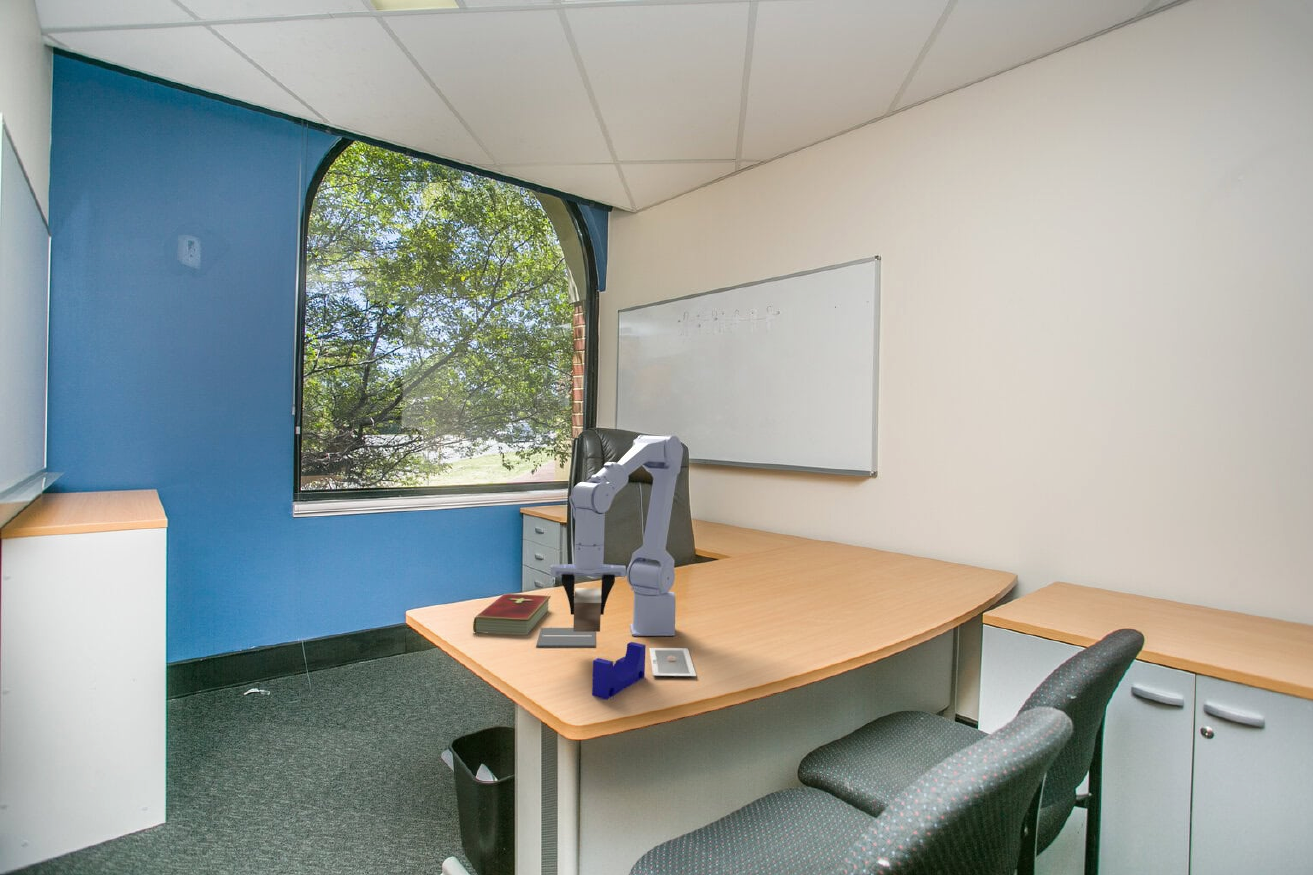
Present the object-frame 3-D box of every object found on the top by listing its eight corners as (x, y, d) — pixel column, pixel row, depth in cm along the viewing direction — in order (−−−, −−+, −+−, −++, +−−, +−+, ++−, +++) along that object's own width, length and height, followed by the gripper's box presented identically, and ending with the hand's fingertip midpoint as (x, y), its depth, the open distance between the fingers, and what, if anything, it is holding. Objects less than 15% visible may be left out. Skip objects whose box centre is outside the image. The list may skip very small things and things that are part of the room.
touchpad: (687, 653, 128) (687, 643, 128) (696, 681, 113) (696, 669, 113) (649, 653, 127) (649, 642, 127) (652, 681, 112) (653, 669, 112)
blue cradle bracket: (623, 672, 115) (624, 640, 115) (644, 677, 113) (645, 644, 113) (584, 694, 105) (585, 658, 105) (606, 700, 103) (607, 664, 103)
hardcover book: (472, 634, 135) (473, 615, 135) (502, 609, 156) (503, 592, 156) (527, 637, 134) (528, 618, 135) (550, 611, 155) (550, 594, 155)
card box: (599, 617, 127) (600, 587, 127) (600, 631, 118) (601, 599, 118) (574, 617, 126) (575, 587, 126) (572, 631, 117) (574, 599, 117)
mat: (595, 629, 140) (595, 627, 140) (595, 647, 128) (595, 644, 128) (540, 629, 139) (540, 627, 139) (536, 647, 127) (536, 644, 127)
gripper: (550, 546, 118) (548, 618, 118) (627, 547, 119) (625, 619, 119) (552, 540, 125) (550, 608, 125) (625, 541, 126) (623, 609, 126)
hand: (587, 613), depth 122 cm, fingers closed on card box, 5 cm apart
